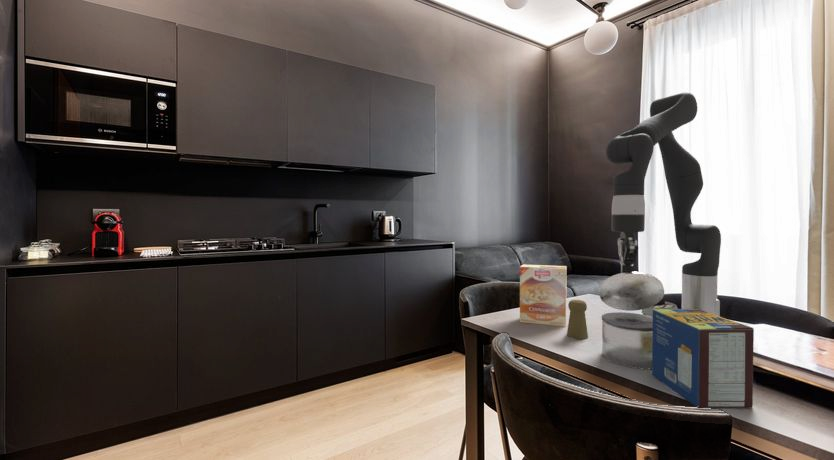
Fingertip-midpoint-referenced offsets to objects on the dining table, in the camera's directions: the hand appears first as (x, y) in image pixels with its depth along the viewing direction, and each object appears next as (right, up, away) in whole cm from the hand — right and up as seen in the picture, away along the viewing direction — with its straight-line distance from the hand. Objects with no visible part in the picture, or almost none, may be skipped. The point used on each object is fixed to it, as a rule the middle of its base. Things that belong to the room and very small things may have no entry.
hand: (626, 279), depth 99 cm
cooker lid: (+2, -4, +1) cm, 4 cm away
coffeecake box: (-11, -19, +33) cm, 39 cm away
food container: (+18, -20, +13) cm, 30 cm away
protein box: (+4, -21, -19) cm, 29 cm away
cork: (-6, -20, +17) cm, 27 cm away
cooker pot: (+1, -20, -1) cm, 20 cm away
